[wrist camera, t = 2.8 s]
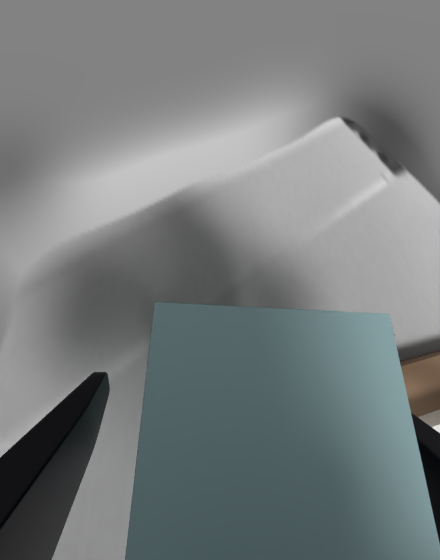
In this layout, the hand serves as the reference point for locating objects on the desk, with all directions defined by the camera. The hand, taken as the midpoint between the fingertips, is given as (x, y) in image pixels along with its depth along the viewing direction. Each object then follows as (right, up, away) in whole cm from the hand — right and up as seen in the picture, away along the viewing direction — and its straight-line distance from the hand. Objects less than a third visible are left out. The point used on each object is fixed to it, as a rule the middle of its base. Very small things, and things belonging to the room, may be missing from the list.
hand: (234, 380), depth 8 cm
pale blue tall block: (-1, -3, +7) cm, 7 cm away
